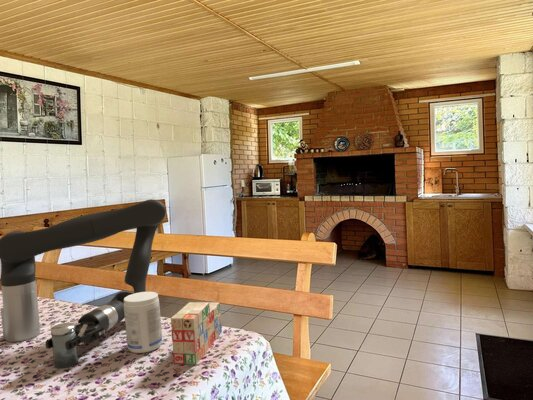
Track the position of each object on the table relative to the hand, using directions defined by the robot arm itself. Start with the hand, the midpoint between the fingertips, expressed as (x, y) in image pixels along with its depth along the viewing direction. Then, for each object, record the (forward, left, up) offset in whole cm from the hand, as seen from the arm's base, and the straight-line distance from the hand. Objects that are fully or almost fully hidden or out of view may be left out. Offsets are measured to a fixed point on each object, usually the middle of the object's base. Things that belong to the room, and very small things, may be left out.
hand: (57, 345), depth 100 cm
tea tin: (0, +3, -6) cm, 7 cm away
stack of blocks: (+32, +17, -6) cm, 36 cm away
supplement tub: (+16, +15, -6) cm, 22 cm away
